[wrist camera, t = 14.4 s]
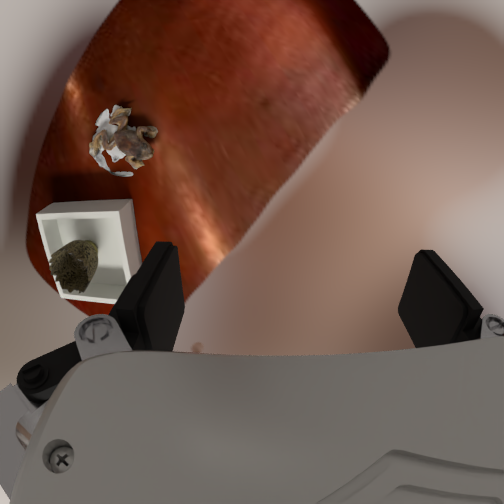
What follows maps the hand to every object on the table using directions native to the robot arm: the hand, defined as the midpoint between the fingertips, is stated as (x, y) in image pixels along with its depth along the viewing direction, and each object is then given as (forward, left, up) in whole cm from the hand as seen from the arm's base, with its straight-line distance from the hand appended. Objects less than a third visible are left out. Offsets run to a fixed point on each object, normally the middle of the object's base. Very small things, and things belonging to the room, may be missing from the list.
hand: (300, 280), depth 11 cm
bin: (+15, -28, -30) cm, 44 cm away
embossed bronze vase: (+15, -29, -30) cm, 44 cm away
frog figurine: (-2, -20, -31) cm, 37 cm away
